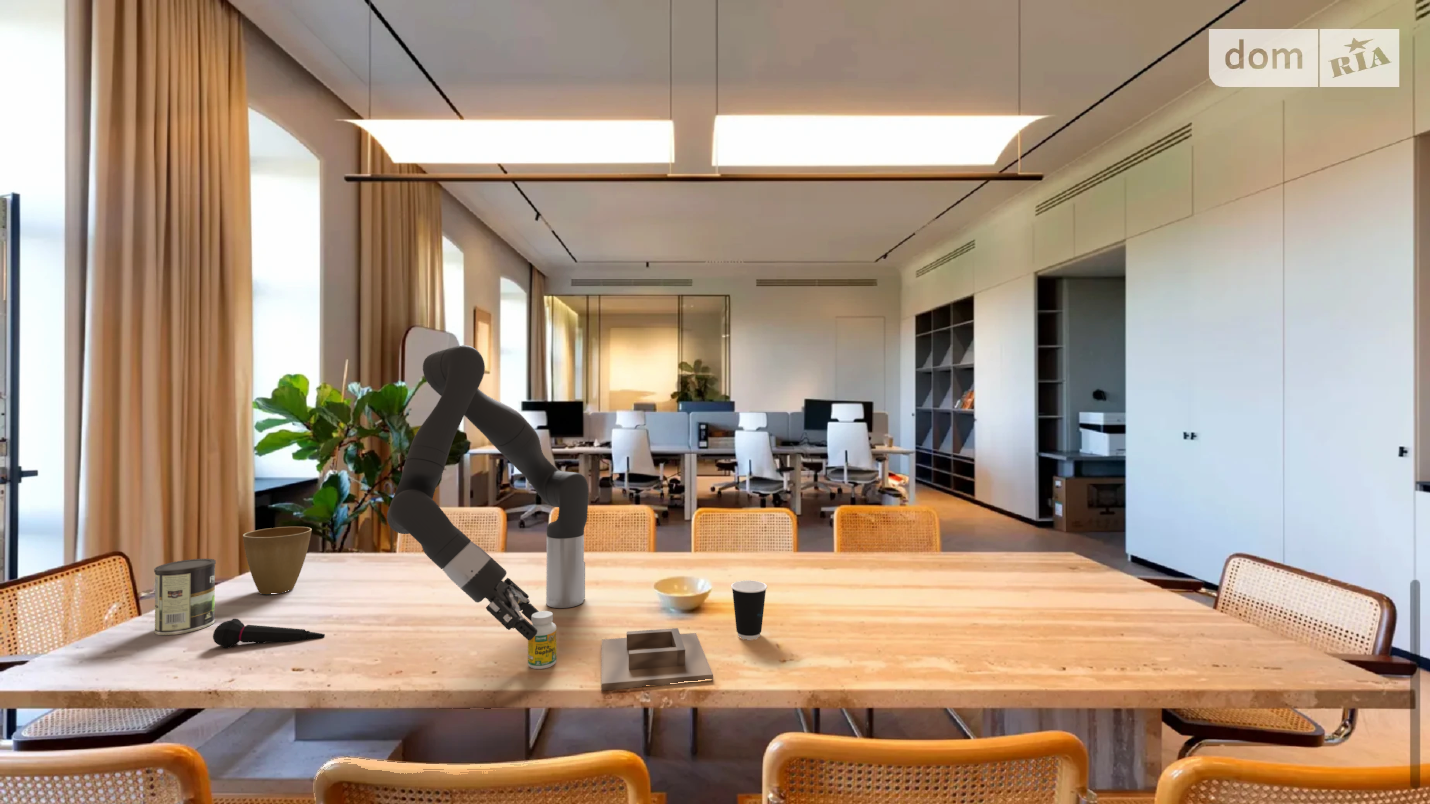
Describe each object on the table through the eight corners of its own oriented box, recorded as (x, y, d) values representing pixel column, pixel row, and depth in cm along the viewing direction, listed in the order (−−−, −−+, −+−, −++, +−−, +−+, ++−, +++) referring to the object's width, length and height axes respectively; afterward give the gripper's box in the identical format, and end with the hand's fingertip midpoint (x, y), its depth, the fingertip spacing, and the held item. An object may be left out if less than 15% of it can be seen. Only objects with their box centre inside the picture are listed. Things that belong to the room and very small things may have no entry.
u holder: (601, 690, 104) (601, 666, 104) (601, 645, 123) (601, 625, 123) (713, 681, 107) (713, 657, 107) (695, 638, 127) (696, 619, 127)
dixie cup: (771, 641, 126) (772, 589, 126) (736, 644, 124) (736, 592, 124) (760, 627, 133) (760, 579, 134) (726, 630, 132) (727, 581, 132)
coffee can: (211, 615, 140) (212, 555, 140) (218, 626, 133) (219, 563, 133) (151, 627, 132) (152, 564, 132) (155, 639, 125) (156, 573, 125)
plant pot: (284, 600, 151) (285, 537, 151) (227, 599, 151) (227, 537, 151) (323, 582, 166) (324, 525, 166) (271, 582, 166) (272, 525, 166)
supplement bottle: (551, 655, 118) (551, 607, 118) (560, 665, 114) (560, 615, 114) (524, 662, 115) (524, 612, 115) (532, 672, 111) (532, 621, 111)
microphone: (324, 649, 128) (216, 647, 123) (331, 621, 130) (225, 617, 125) (316, 651, 123) (203, 648, 118) (323, 621, 125) (213, 618, 120)
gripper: (481, 566, 106) (547, 626, 108) (496, 548, 120) (554, 601, 122) (450, 597, 105) (517, 658, 107) (468, 575, 119) (527, 628, 121)
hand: (536, 627), depth 114 cm, fingers open, 8 cm apart
